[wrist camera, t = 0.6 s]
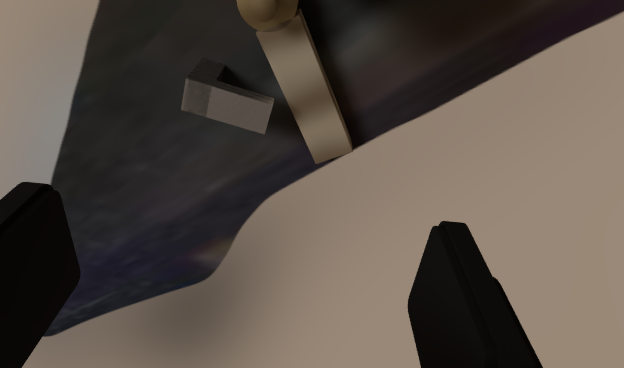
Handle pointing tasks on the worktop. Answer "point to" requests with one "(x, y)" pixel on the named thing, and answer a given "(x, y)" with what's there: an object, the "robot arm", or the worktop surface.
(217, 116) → the hook
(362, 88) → the worktop surface
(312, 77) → the pivot link
